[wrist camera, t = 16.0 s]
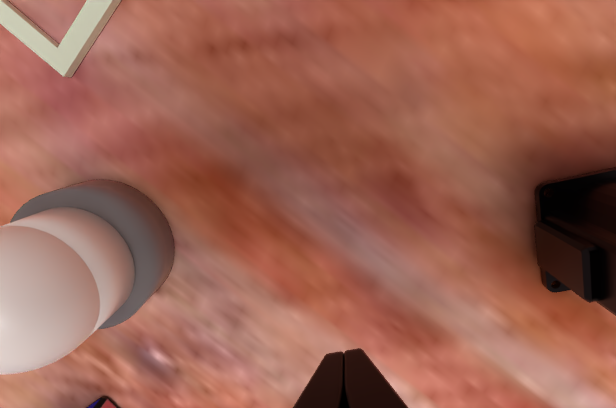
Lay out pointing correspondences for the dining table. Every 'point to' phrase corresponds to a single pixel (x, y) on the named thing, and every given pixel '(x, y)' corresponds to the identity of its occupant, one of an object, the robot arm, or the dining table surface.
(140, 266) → the dome base
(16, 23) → the frame
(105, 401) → the puzzle cube
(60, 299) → the dome
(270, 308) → the dining table surface
